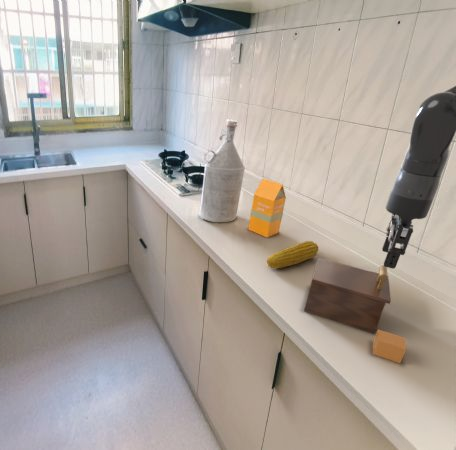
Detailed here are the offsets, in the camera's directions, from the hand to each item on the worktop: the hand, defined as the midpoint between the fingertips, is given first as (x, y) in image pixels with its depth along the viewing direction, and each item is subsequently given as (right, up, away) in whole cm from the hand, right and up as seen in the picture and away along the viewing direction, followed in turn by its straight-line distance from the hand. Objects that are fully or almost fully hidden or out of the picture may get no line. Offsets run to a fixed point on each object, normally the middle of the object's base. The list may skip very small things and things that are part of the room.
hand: (387, 259), depth 78 cm
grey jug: (-28, +11, +64) cm, 71 cm away
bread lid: (-5, -6, +6) cm, 10 cm away
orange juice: (-12, +5, +53) cm, 55 cm away
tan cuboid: (-3, -20, -4) cm, 21 cm away
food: (-10, -5, +31) cm, 33 cm away
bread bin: (-6, -14, +10) cm, 18 cm away
